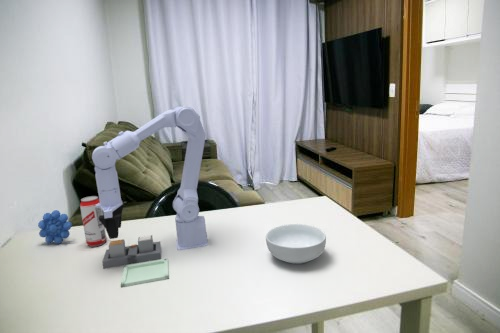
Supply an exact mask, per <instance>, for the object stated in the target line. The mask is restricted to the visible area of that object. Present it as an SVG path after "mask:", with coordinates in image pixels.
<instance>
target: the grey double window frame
mask: <svg viewBox="0 0 500 333" xmlns="http://www.w3.org/2000/svg"><path fill="white" fill-rule="evenodd" d="M153 246H154V251H153V252H147V253H139V246H138V244H131V245H128V246H125V248H126V254H127V256H122V257H116V258H110V253H109V248H108V249H105V253H104V255H103V259H102V262H101V263H102V269H103V270H104V269H110V268H117V267H123V266H126V265H132V264H138V263H144V262H150V261H156V260H162V247H161V246H162V245H161V241H153Z"/></svg>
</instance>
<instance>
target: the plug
mask: <svg viewBox="0 0 500 333" xmlns="http://www.w3.org/2000/svg"><path fill="white" fill-rule="evenodd" d="M107 247H108V249H109V253H110V258H116V257H122V256H128V255H127V254H126V248H125V247H126V242H125V238H124V239H123V238H122V239H116V240H110V241H109V243H108V246H107Z"/></svg>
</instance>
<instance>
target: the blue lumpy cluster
mask: <svg viewBox="0 0 500 333" xmlns="http://www.w3.org/2000/svg"><path fill="white" fill-rule="evenodd" d="M72 227H73V224H72V222H71V221H69V216H68V214H66V213H62V214H61V212H60V211H59V210H53V211H52V212H51V213H50V212H46V213H44V214H43V216H42V220H40V221H39V222H38V229H40V230H39V232H38V234H39V235H38V236H39V237H41V238H44V240H45V243H46V244H51V243H54V244H56V245H58V244H61V243H62V242H63V240H64V239H68V238H69V237H70V234H71V233H70V231H69V230H71V229H72Z"/></svg>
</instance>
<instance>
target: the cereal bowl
mask: <svg viewBox="0 0 500 333" xmlns="http://www.w3.org/2000/svg"><path fill="white" fill-rule="evenodd" d="M265 242H266V246H267V249H268V251H269V253H270V254H271V255H272V256H274V257H275V258H276V259H278V260H280V261H283V262H286V263H287V264H288V263H289V264H292V265H293V264H294V265H297V264H298V265H299V264H304V263H308V262H310V261H312V260H315V259H317V258H319V257H320V255H322V253H323V252H324V250H325V248H326V246H327V245H326V244H327V243H326V242H327V235H326V233H325V232H324V231H323V230H322V229H320V228H319V227H316V226H314V225H309V224H301V223H292V224H291V223H290V224H284V225H279V226H276V227H274V228H271V229H270V230H268V231H267V233H266V234H265Z"/></svg>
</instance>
